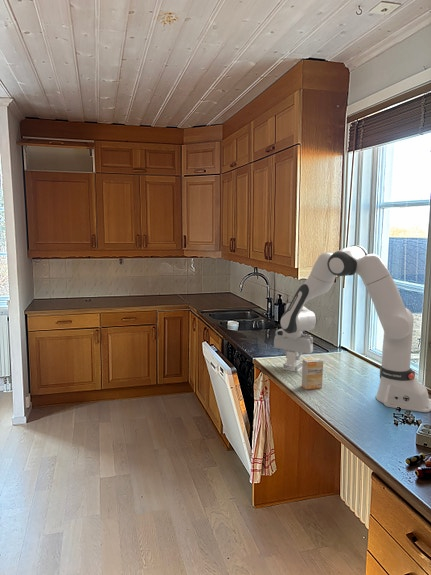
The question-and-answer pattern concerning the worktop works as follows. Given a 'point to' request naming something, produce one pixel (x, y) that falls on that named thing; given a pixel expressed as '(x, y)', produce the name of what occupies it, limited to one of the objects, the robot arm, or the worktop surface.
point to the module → (292, 358)
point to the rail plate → (292, 367)
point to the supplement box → (312, 373)
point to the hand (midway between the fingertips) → (292, 359)
